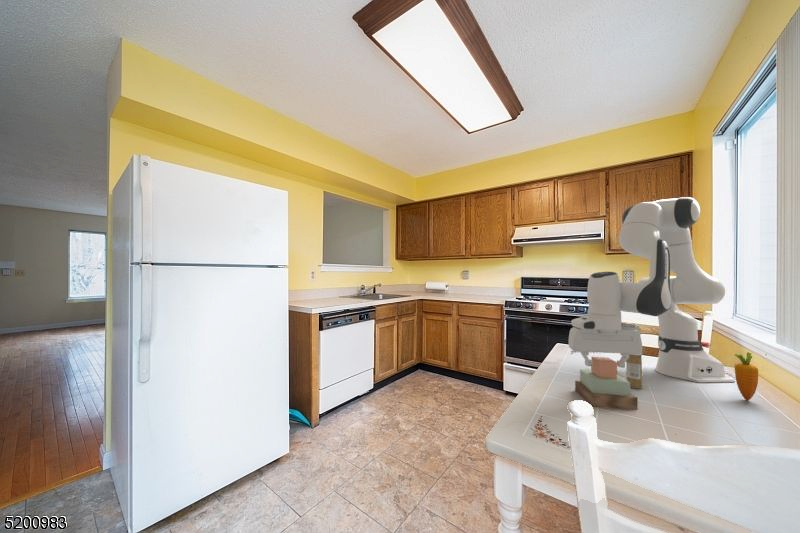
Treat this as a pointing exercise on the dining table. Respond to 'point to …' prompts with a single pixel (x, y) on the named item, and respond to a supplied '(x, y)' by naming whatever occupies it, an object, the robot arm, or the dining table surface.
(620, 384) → the tower top
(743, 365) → the carrot
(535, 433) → the dining table surface
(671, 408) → the dining table surface
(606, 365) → the terracotta block
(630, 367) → the sprinkles bottle
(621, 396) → the tower base
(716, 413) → the dining table surface
